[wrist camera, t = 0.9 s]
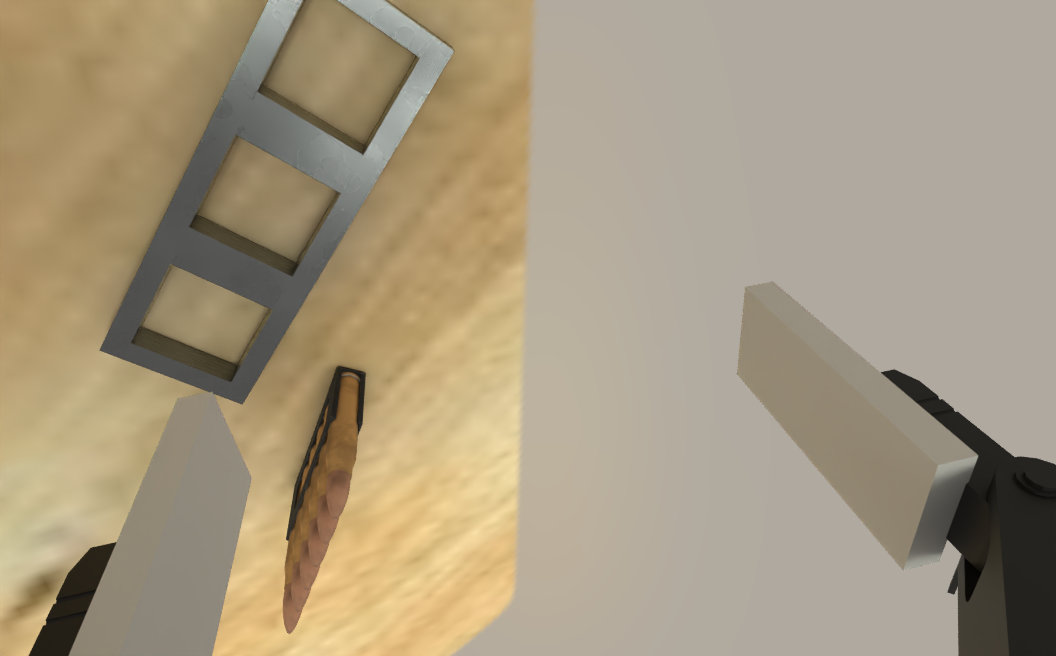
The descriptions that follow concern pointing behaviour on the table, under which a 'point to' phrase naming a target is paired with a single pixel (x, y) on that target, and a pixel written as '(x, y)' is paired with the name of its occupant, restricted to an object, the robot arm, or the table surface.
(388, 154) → the grey slotted plate
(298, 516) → the ammunition clip
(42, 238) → the table surface
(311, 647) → the table surface
